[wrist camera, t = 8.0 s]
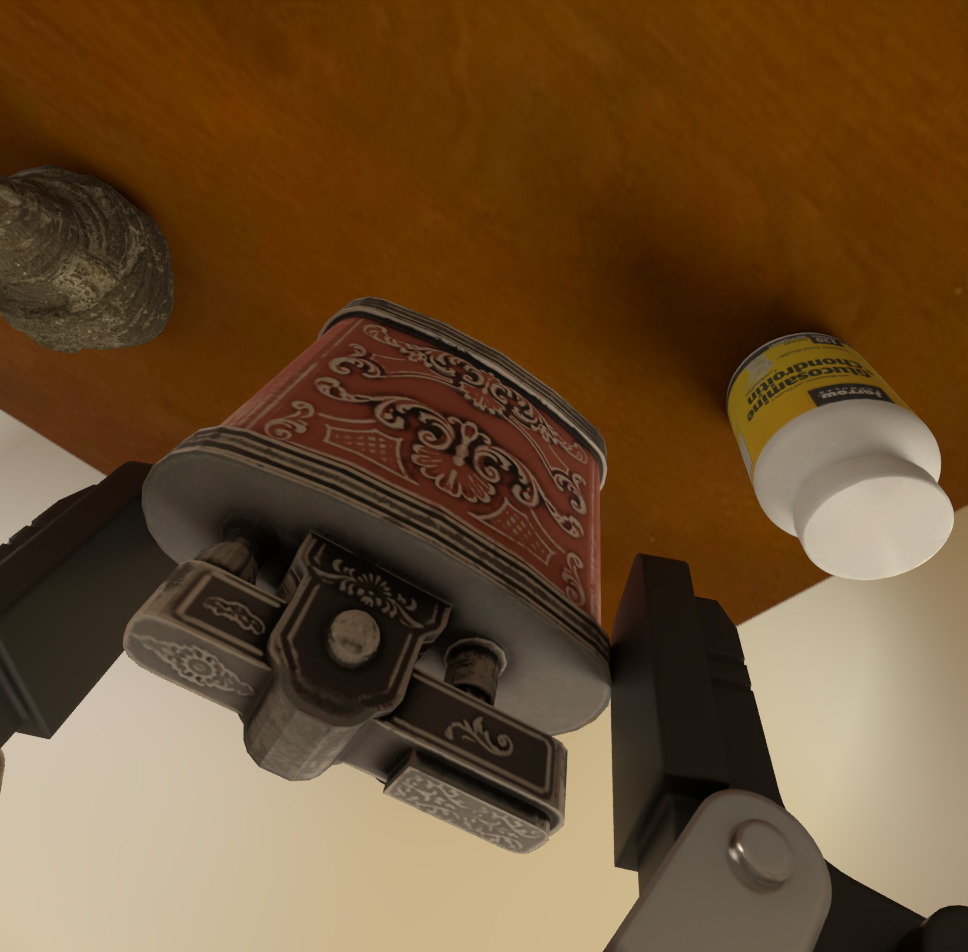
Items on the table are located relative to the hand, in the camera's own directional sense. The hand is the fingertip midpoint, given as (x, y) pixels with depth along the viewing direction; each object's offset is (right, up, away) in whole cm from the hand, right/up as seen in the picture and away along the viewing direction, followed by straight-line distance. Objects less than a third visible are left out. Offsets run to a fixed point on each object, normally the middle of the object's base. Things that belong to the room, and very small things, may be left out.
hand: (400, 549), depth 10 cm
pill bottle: (+17, +6, +20) cm, 27 cm away
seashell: (-20, +13, +23) cm, 33 cm away
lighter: (+1, +3, +6) cm, 7 cm away
